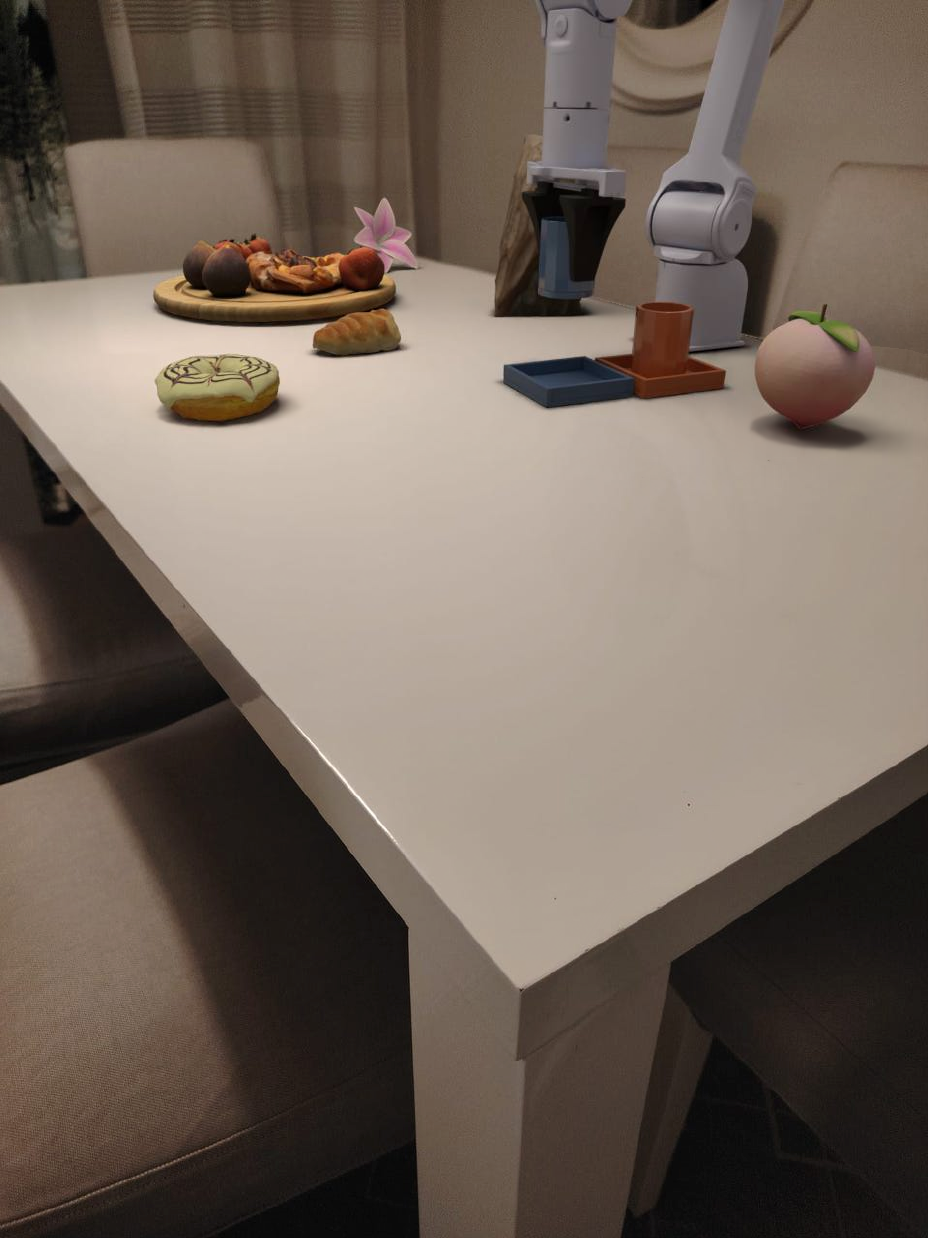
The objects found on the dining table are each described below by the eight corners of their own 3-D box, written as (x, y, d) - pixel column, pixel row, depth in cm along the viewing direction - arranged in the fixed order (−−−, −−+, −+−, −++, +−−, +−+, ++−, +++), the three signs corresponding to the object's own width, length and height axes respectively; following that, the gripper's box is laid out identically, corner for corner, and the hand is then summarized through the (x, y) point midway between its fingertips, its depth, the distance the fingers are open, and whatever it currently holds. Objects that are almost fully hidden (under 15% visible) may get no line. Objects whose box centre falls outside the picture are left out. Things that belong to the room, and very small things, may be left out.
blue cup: (576, 287, 88) (580, 214, 85) (604, 296, 84) (610, 220, 81) (528, 290, 87) (531, 216, 83) (554, 300, 82) (558, 223, 79)
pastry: (333, 361, 94) (330, 323, 92) (300, 349, 99) (297, 313, 97) (406, 348, 99) (405, 312, 98) (372, 337, 104) (370, 302, 102)
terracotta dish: (669, 365, 93) (671, 349, 92) (723, 388, 86) (726, 370, 85) (593, 374, 90) (594, 357, 89) (643, 398, 83) (645, 380, 82)
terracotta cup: (664, 367, 91) (672, 299, 88) (696, 380, 87) (705, 309, 83) (619, 372, 89) (626, 303, 86) (650, 386, 85) (657, 314, 82)
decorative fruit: (722, 418, 78) (740, 297, 73) (798, 408, 81) (820, 290, 76) (797, 453, 70) (824, 320, 65) (878, 439, 73) (908, 311, 68)
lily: (343, 281, 141) (365, 225, 135) (329, 240, 148) (349, 185, 142) (411, 300, 148) (435, 247, 141) (394, 260, 154) (417, 208, 148)
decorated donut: (147, 426, 76) (139, 381, 74) (174, 390, 85) (167, 349, 83) (273, 423, 76) (269, 378, 74) (286, 388, 85) (282, 347, 83)
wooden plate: (442, 294, 127) (441, 230, 123) (287, 338, 103) (280, 261, 99) (272, 273, 142) (266, 215, 138) (103, 307, 118) (90, 239, 114)
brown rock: (504, 297, 125) (508, 132, 115) (596, 300, 123) (608, 133, 113) (489, 315, 114) (492, 136, 104) (590, 320, 112) (603, 137, 102)
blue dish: (583, 372, 91) (585, 355, 90) (632, 396, 84) (634, 378, 83) (502, 382, 88) (503, 364, 87) (546, 407, 80) (547, 388, 80)
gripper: (499, 107, 82) (495, 266, 89) (577, 109, 71) (566, 291, 77) (567, 108, 85) (559, 262, 91) (654, 109, 73) (637, 286, 80)
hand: (567, 275), depth 85 cm, fingers closed on blue cup, 5 cm apart
